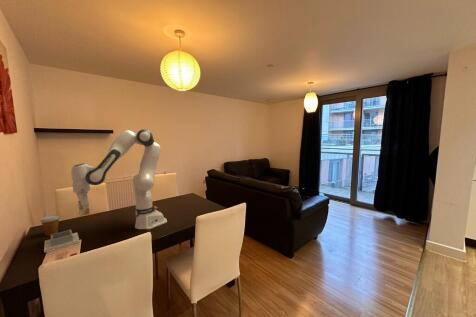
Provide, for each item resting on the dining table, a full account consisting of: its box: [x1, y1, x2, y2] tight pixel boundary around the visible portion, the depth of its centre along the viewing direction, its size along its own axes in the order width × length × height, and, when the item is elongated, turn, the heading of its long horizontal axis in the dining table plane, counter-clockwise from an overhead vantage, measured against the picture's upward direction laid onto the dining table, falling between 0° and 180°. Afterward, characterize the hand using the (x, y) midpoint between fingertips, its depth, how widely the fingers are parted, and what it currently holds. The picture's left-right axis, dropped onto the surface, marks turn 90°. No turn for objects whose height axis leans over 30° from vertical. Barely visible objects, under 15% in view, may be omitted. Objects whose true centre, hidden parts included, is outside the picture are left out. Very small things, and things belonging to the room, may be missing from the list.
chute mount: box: [43, 229, 80, 254], centre depth 125 cm, size 16×15×6 cm
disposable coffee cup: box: [40, 214, 60, 237], centre depth 137 cm, size 10×10×12 cm
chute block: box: [77, 200, 91, 217], centre depth 132 cm, size 5×5×9 cm
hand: (83, 208), depth 132 cm, fingers closed on chute block, 5 cm apart
